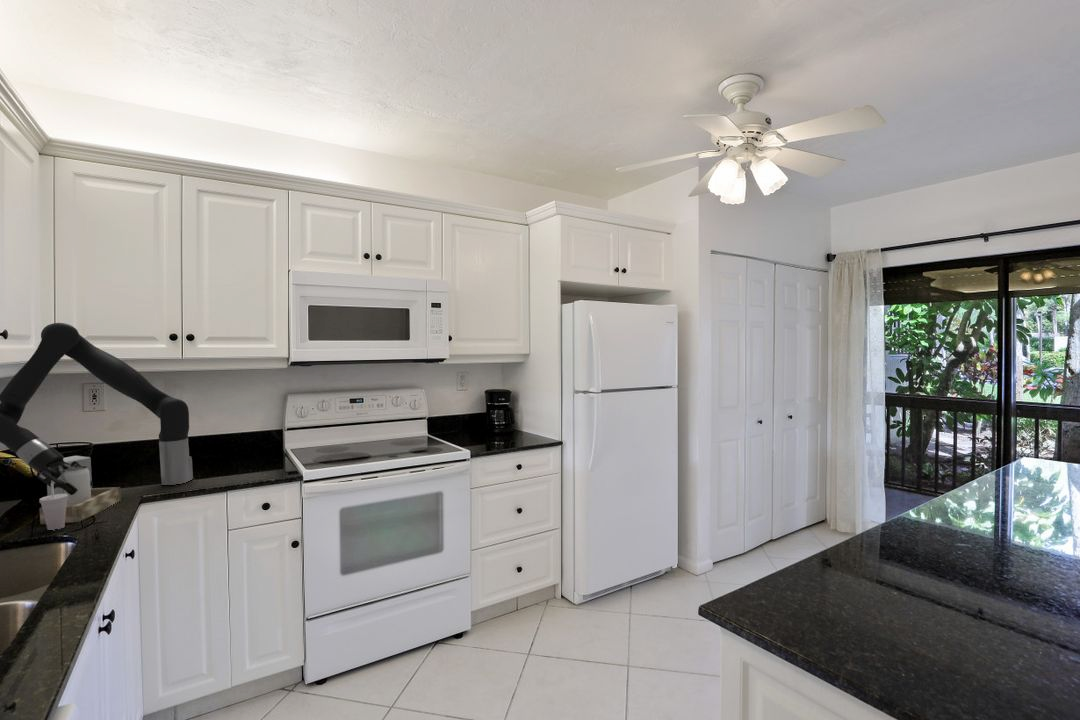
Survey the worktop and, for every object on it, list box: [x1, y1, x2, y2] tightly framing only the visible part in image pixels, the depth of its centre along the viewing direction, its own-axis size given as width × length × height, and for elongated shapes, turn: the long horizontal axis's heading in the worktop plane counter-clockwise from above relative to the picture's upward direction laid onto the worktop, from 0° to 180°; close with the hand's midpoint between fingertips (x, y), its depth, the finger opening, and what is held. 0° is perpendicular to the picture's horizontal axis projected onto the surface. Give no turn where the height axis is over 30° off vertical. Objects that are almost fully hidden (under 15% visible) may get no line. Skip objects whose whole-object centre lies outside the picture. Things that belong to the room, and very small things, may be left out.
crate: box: [39, 486, 122, 525], centre depth 169 cm, size 20×10×5 cm, turn 8°
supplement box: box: [46, 455, 93, 496], centre depth 180 cm, size 9×9×15 cm
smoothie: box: [38, 483, 69, 531], centre depth 155 cm, size 6×6×14 cm
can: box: [64, 466, 91, 506], centre depth 168 cm, size 6×6×12 cm
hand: (83, 489), depth 169 cm, fingers closed on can, 6 cm apart
